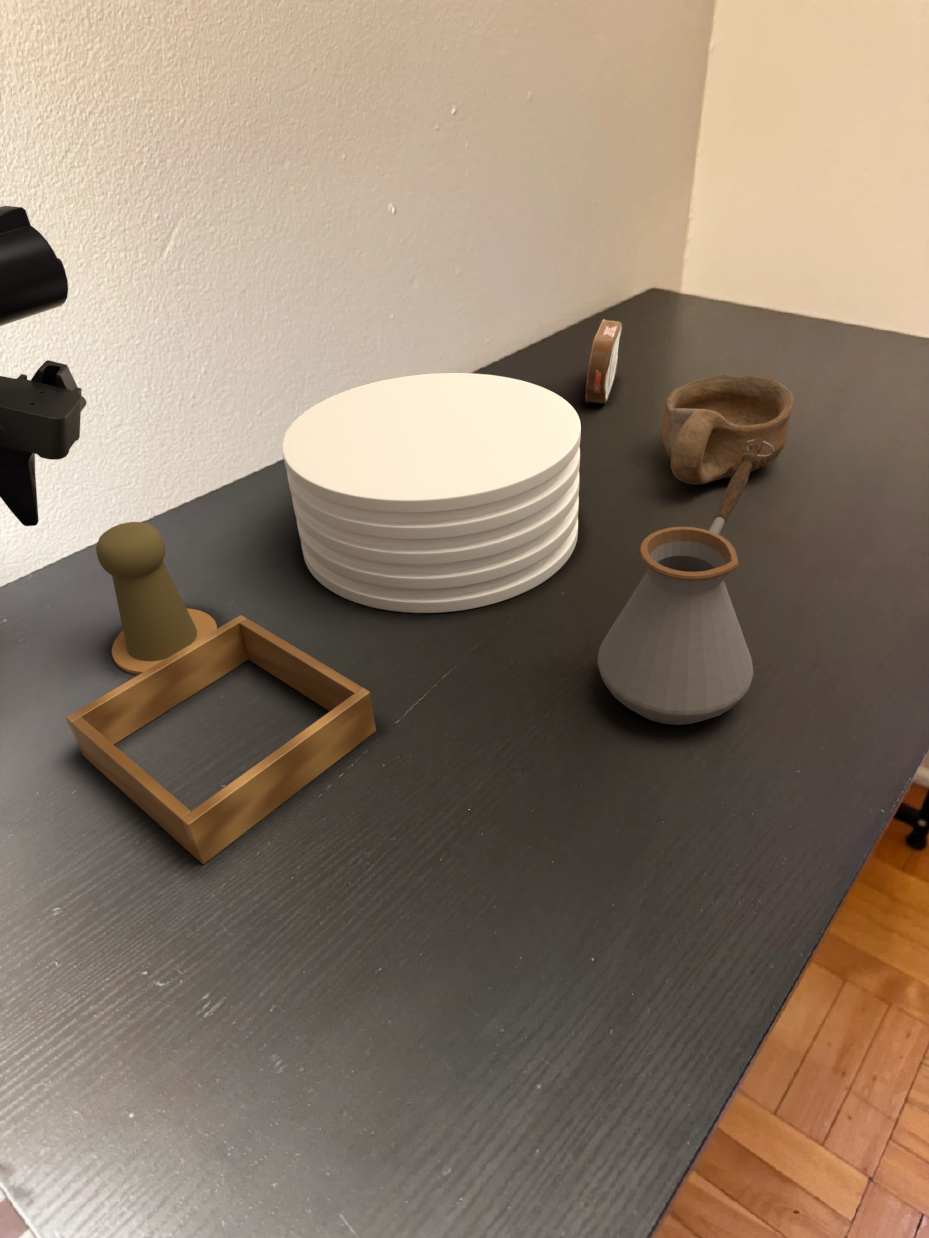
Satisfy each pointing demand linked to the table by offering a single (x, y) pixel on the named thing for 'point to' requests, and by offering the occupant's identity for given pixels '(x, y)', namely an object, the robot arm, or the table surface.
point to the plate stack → (435, 490)
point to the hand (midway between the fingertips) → (10, 555)
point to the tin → (603, 361)
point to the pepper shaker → (145, 592)
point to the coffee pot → (682, 623)
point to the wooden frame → (264, 781)
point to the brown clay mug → (723, 425)
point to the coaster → (135, 666)
